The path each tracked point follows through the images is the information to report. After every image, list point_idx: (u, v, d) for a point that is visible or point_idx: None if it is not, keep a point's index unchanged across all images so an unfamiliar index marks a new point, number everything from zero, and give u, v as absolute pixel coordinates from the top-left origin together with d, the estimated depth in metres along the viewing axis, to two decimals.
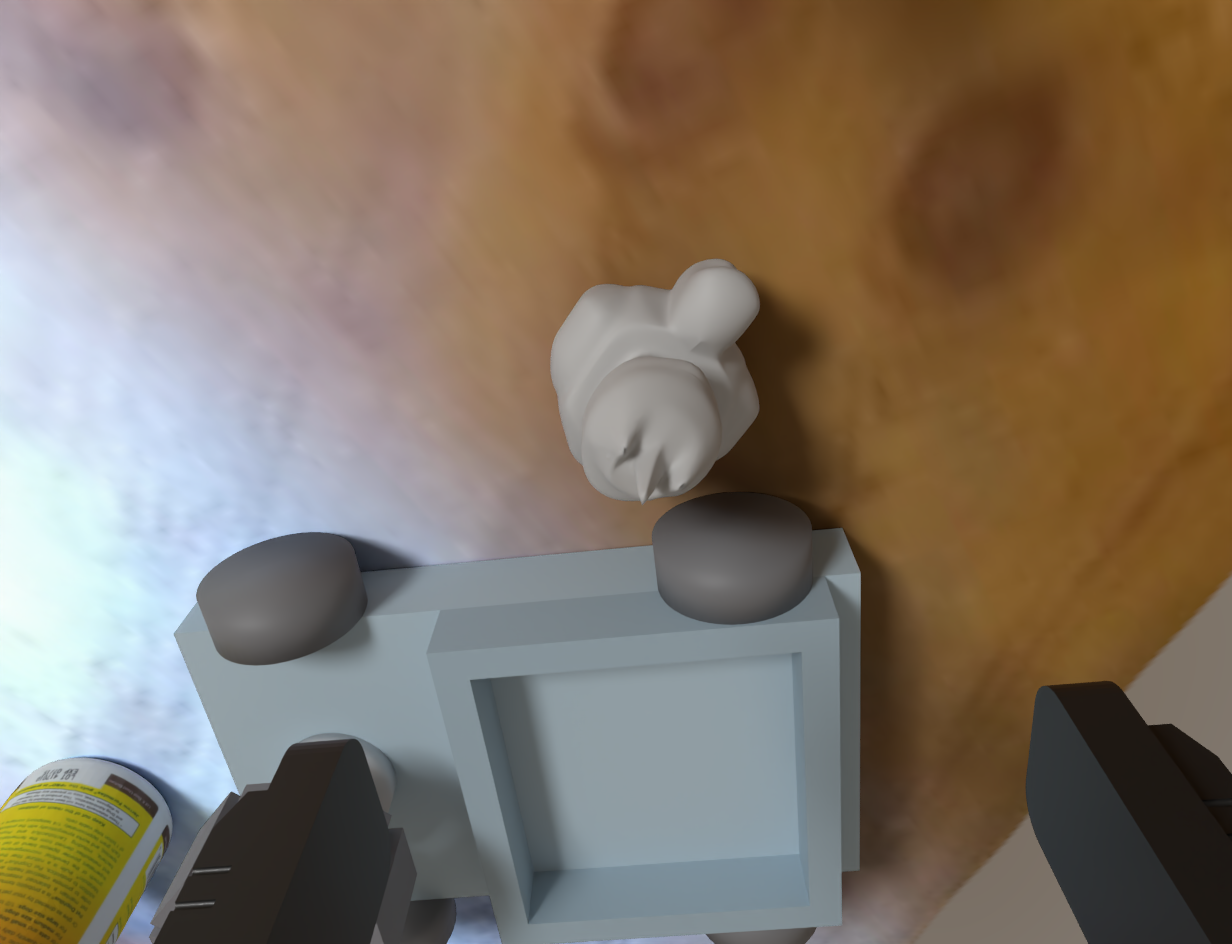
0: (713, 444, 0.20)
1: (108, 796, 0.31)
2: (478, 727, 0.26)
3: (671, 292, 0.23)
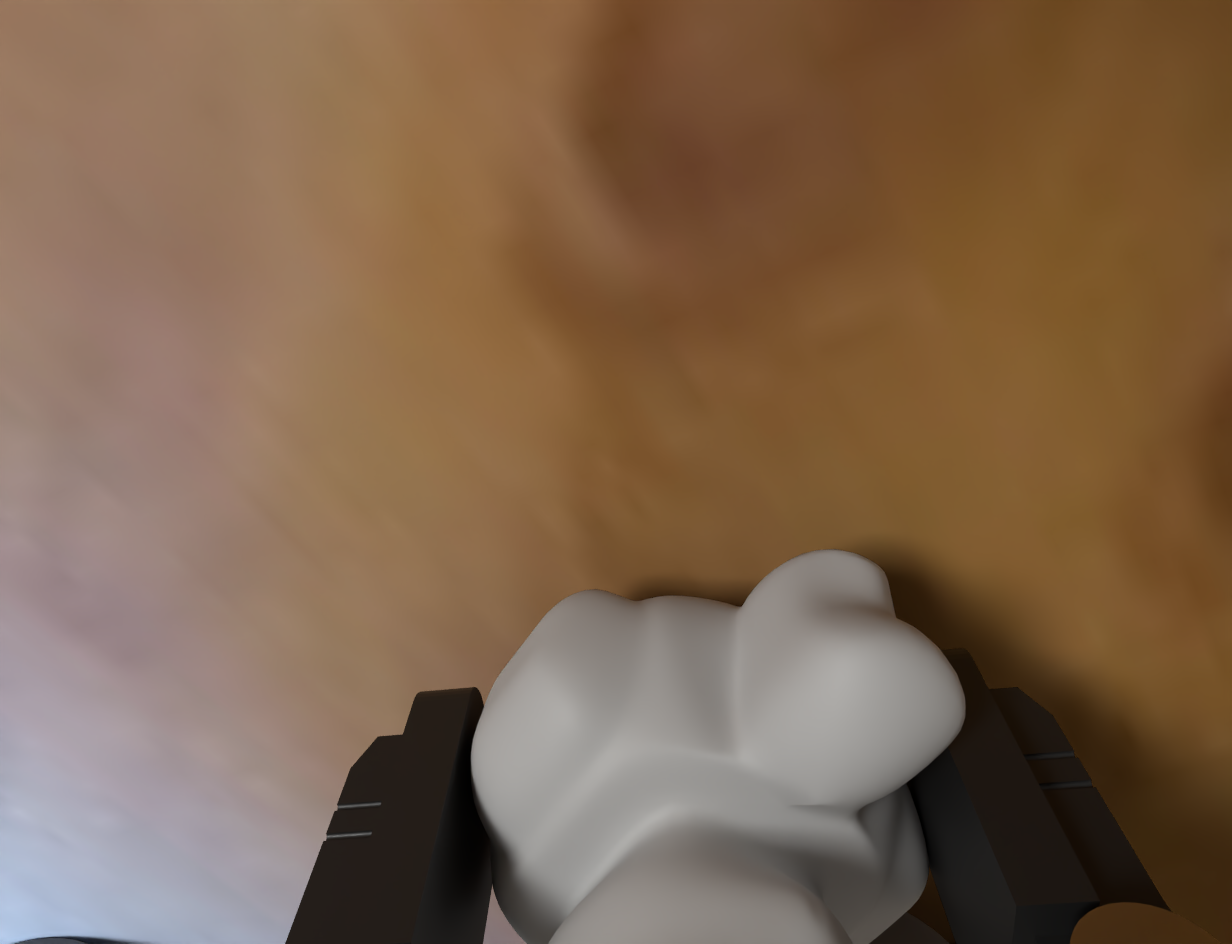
0: None
1: None
2: None
3: (739, 630, 0.10)
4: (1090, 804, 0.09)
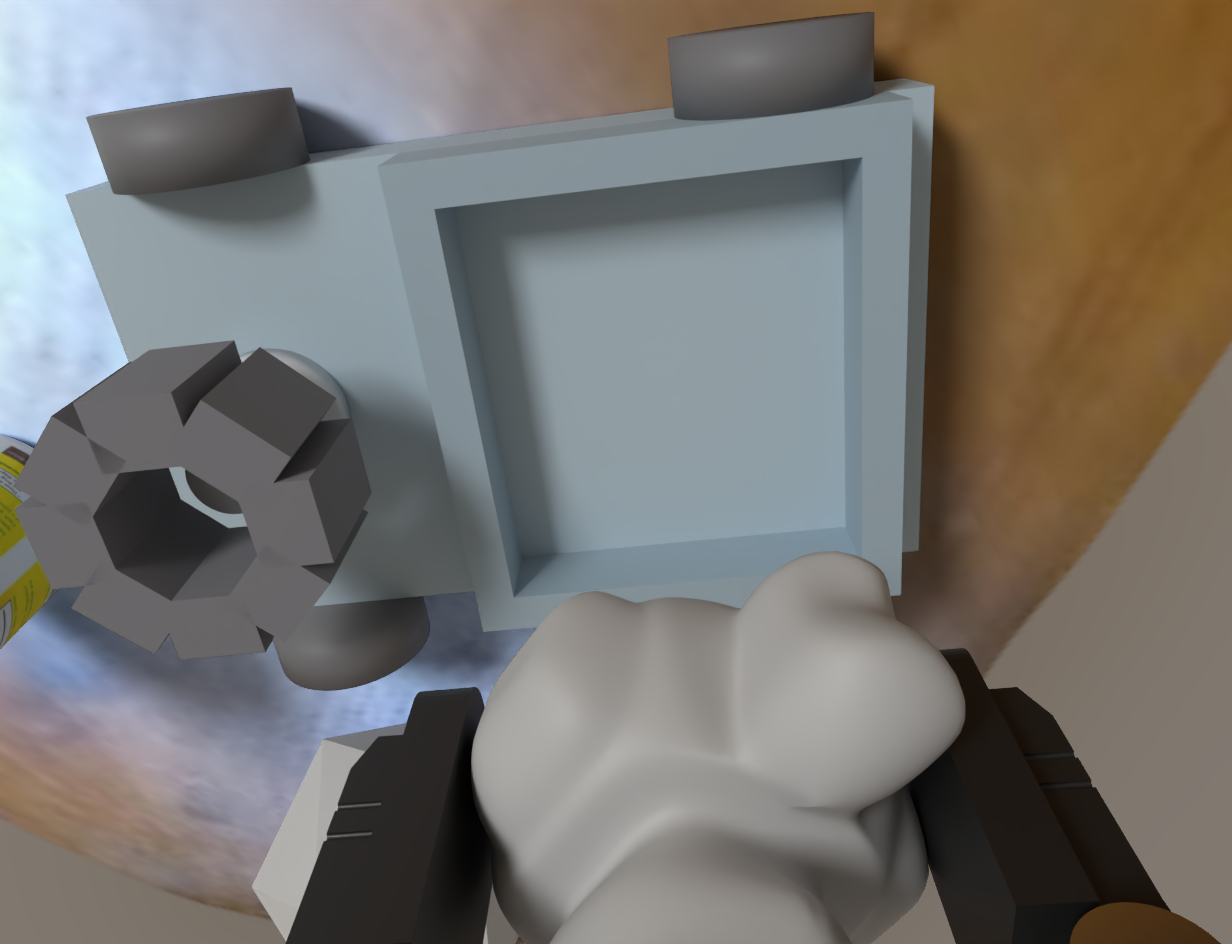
0: None
1: (5, 465, 0.26)
2: (446, 287, 0.20)
3: (739, 631, 0.10)
4: (1090, 804, 0.09)
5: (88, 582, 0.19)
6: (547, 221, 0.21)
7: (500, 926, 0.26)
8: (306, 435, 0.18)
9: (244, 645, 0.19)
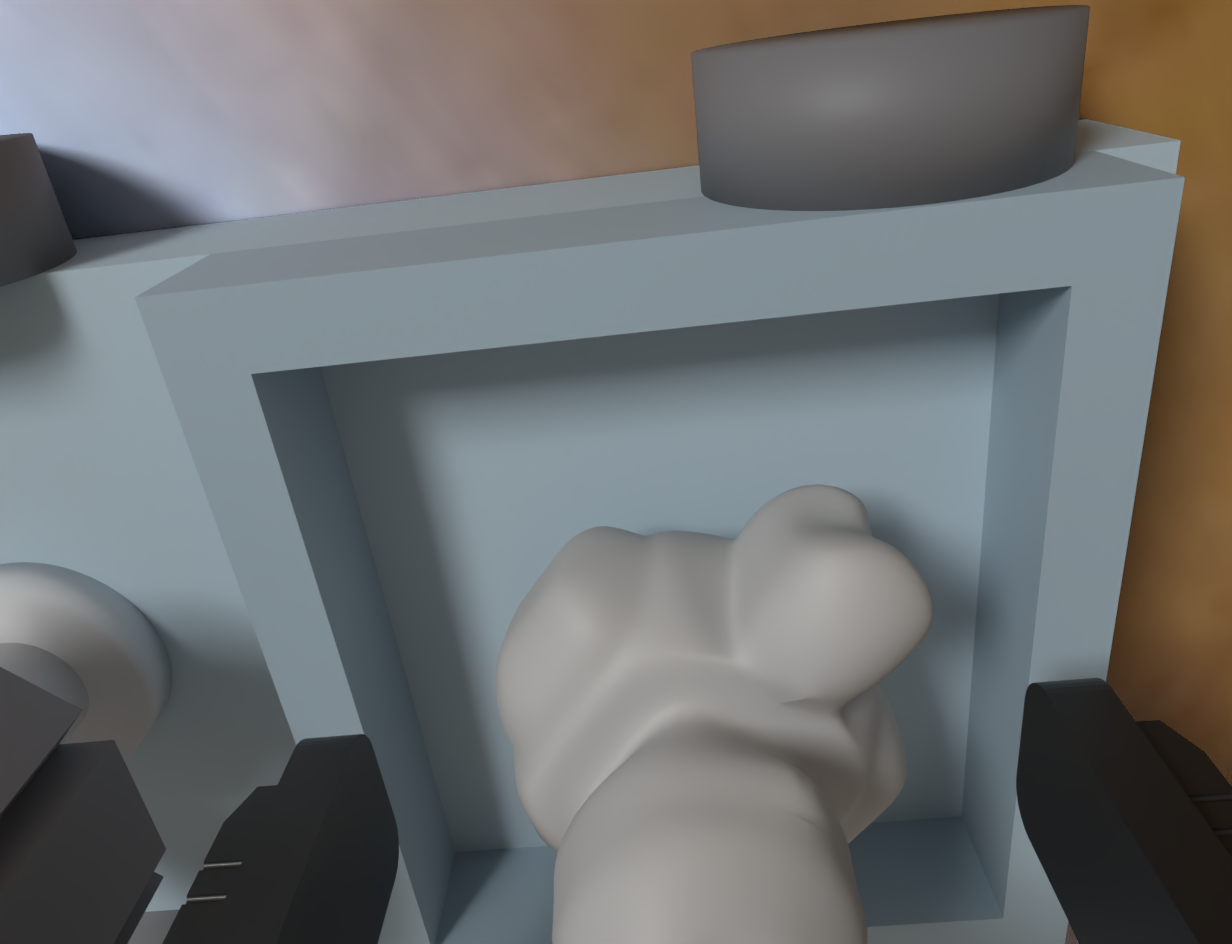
0: None
1: None
2: (285, 506, 0.11)
3: (734, 556, 0.11)
4: None
5: None
6: (478, 369, 0.12)
7: None
8: None
9: None
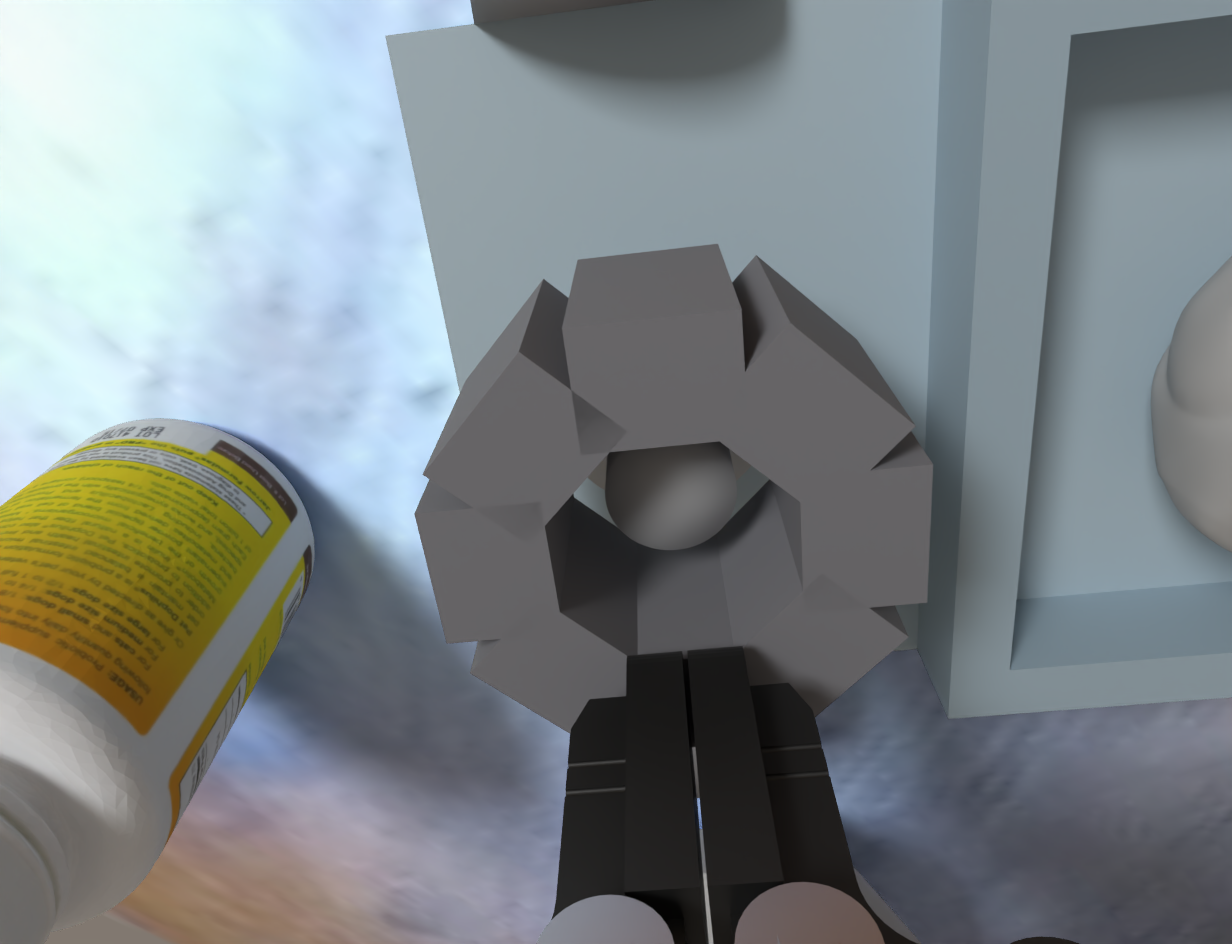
0: None
1: (220, 468, 0.17)
2: (1050, 177, 0.12)
3: None
4: (820, 793, 0.09)
5: (510, 633, 0.11)
6: (1155, 81, 0.13)
7: None
8: (891, 391, 0.11)
9: None
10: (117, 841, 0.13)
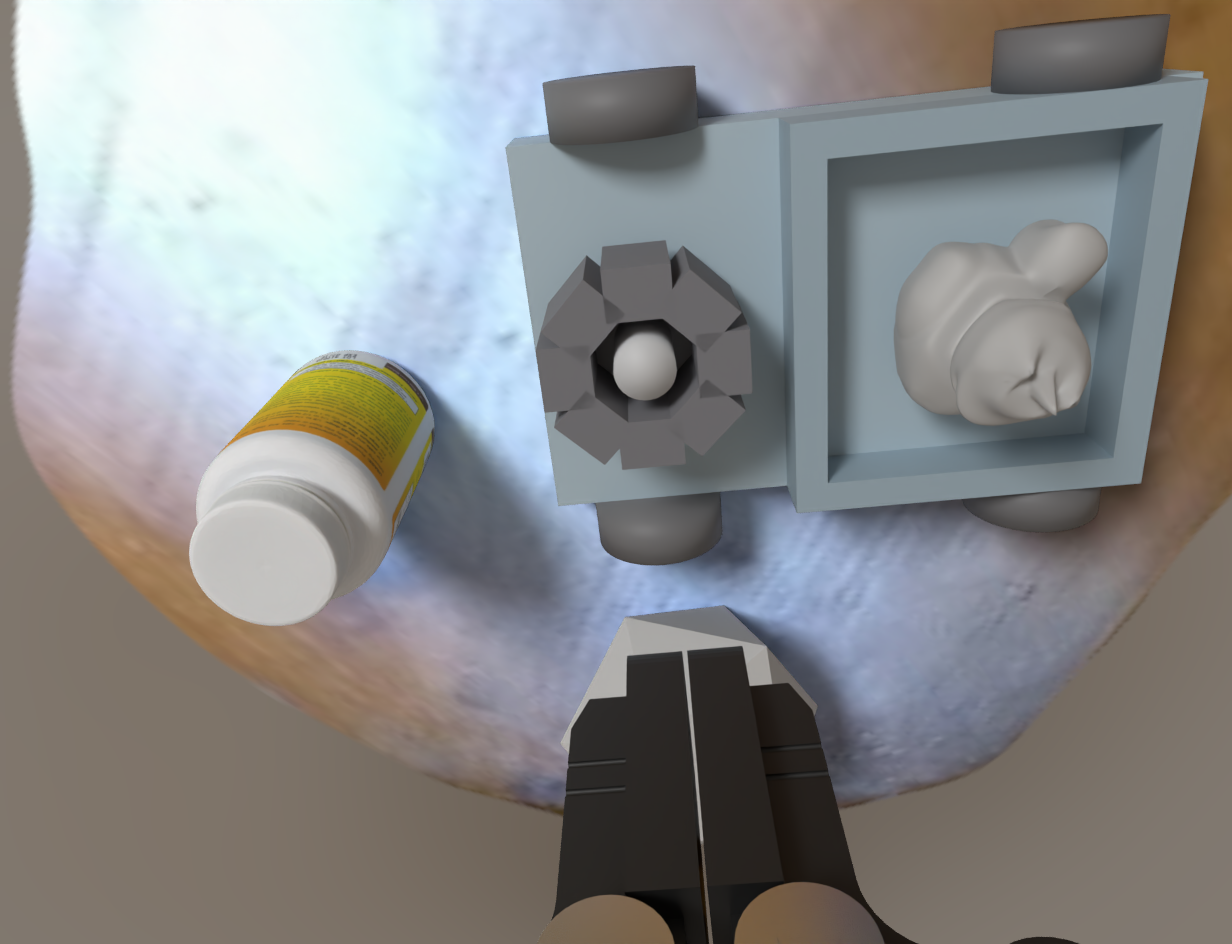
0: (1089, 370, 0.23)
1: (390, 376, 0.31)
2: (824, 222, 0.26)
3: (1012, 248, 0.26)
4: (819, 793, 0.09)
5: (573, 407, 0.26)
6: (885, 174, 0.27)
7: None
8: (736, 302, 0.26)
9: (672, 458, 0.27)
10: (372, 540, 0.26)
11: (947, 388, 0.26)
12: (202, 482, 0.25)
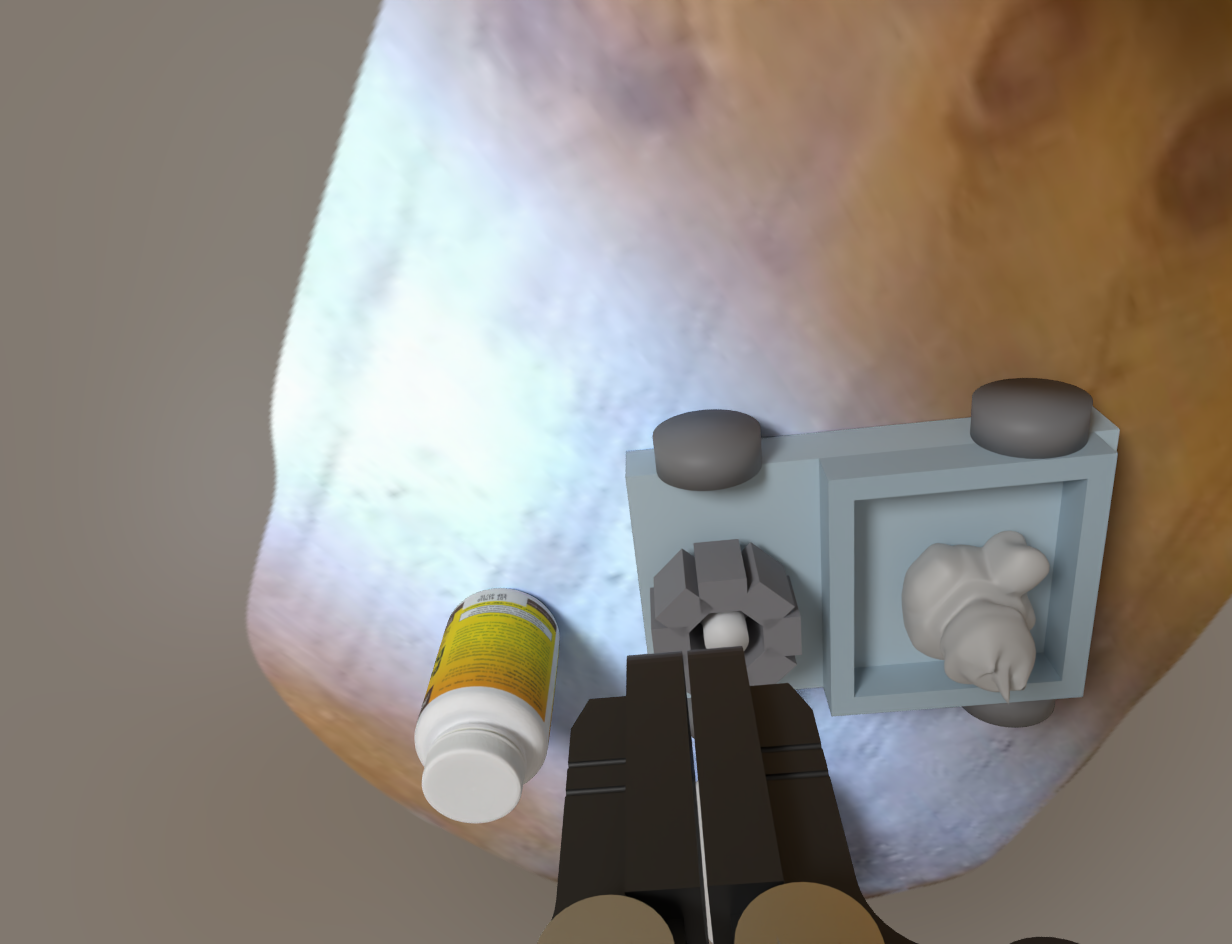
0: (1034, 660, 0.34)
1: (532, 612, 0.42)
2: (852, 537, 0.37)
3: (985, 552, 0.37)
4: (820, 793, 0.09)
5: None
6: None
7: None
8: (790, 592, 0.37)
9: None
10: (537, 758, 0.37)
11: (939, 649, 0.37)
12: (422, 722, 0.37)
